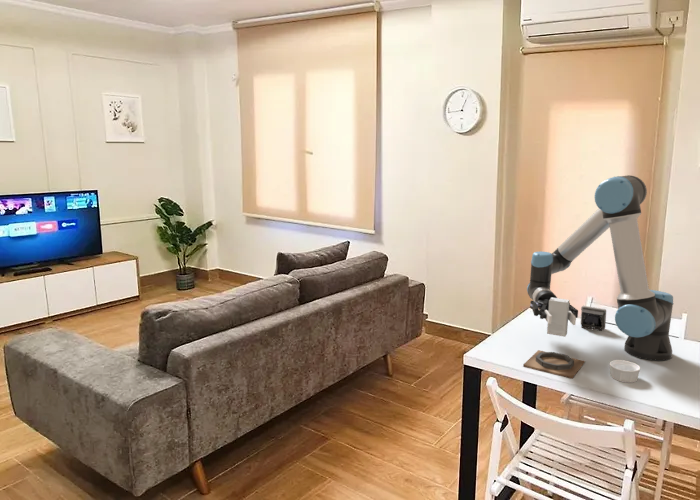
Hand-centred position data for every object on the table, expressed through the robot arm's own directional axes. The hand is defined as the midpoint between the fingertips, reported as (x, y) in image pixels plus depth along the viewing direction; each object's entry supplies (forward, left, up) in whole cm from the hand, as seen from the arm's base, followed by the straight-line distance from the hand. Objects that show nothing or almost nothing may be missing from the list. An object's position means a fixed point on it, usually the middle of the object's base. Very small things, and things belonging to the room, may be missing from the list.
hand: (562, 320), depth 176 cm
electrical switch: (0, -50, -18) cm, 53 cm away
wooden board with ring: (+2, -4, -17) cm, 18 cm away
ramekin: (-19, -7, -18) cm, 27 cm away
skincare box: (+2, -4, -7) cm, 8 cm away
